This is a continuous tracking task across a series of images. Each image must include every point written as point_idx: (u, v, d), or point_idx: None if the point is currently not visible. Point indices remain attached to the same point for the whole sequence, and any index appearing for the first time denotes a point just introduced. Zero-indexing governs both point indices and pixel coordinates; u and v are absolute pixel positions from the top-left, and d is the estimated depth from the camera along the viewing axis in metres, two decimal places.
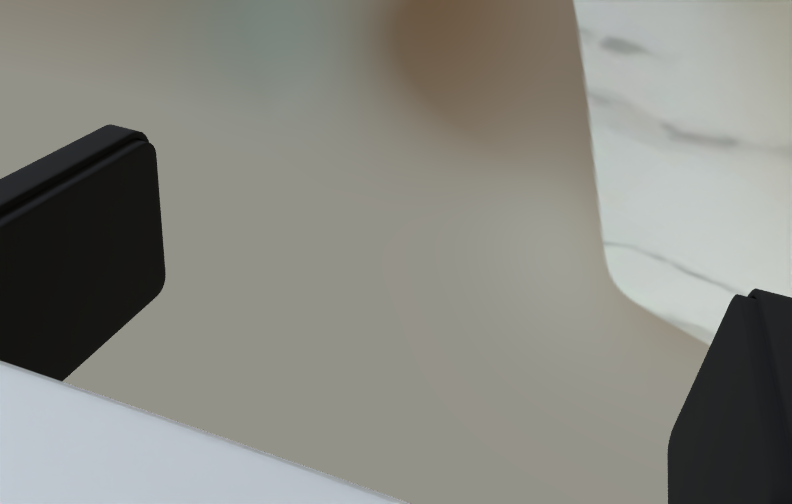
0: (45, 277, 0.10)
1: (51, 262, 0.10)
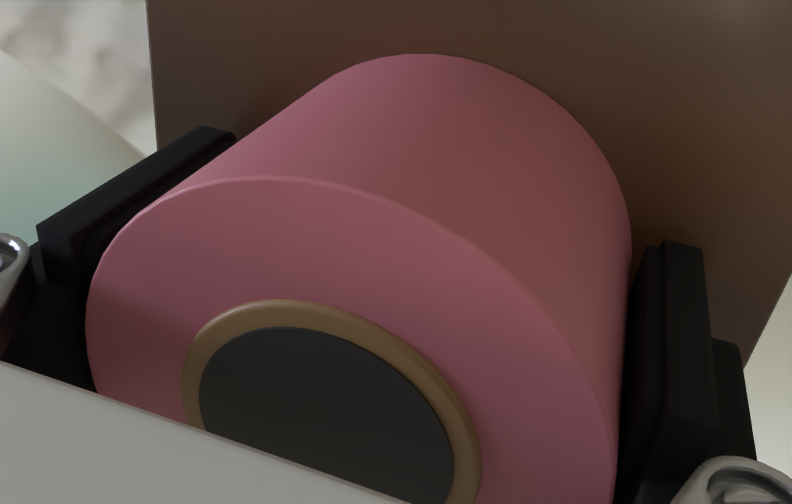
0: None
1: None
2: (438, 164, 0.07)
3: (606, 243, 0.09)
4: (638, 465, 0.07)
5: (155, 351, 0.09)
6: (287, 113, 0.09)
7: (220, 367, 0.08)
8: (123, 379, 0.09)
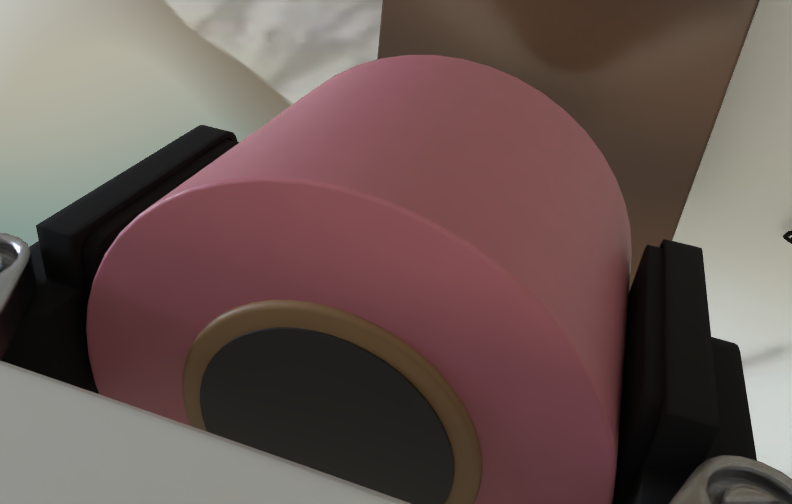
0: None
1: None
2: (439, 165, 0.07)
3: (606, 244, 0.09)
4: (638, 465, 0.07)
5: (156, 353, 0.09)
6: (288, 114, 0.09)
7: (220, 369, 0.08)
8: (124, 379, 0.09)
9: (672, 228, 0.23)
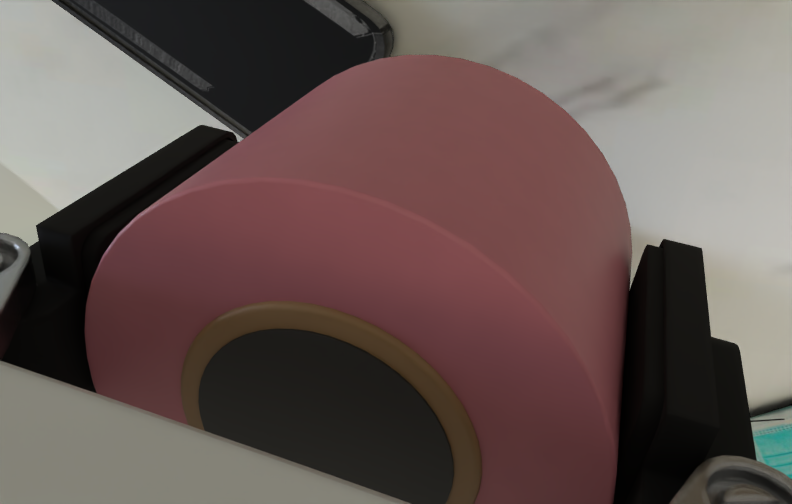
0: None
1: None
2: (439, 165, 0.07)
3: (606, 245, 0.09)
4: (638, 465, 0.07)
5: (154, 354, 0.08)
6: (287, 115, 0.09)
7: (220, 370, 0.08)
8: (123, 381, 0.09)
9: None
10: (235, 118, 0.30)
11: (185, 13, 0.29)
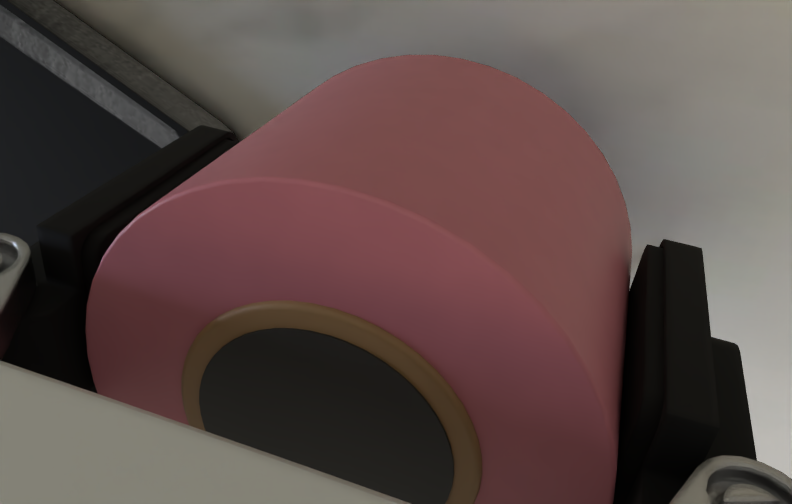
0: None
1: None
2: (438, 165, 0.07)
3: (606, 244, 0.09)
4: (638, 465, 0.07)
5: (155, 353, 0.09)
6: (287, 114, 0.09)
7: (220, 369, 0.08)
8: (123, 380, 0.09)
9: None
10: None
11: None
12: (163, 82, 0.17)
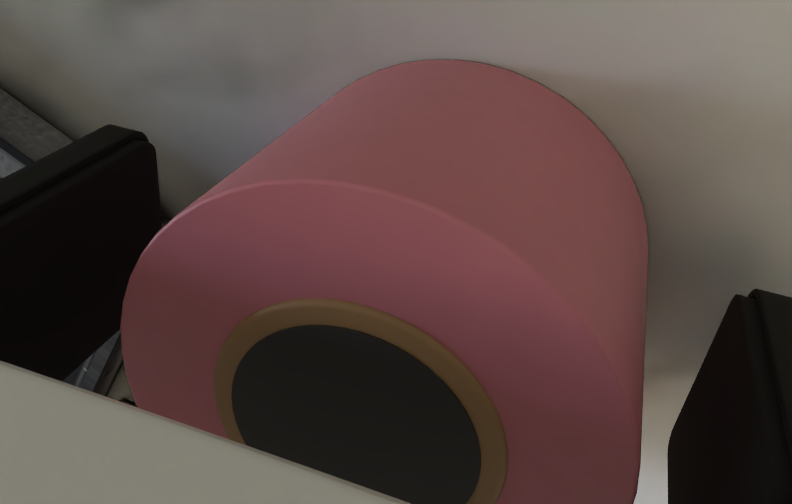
0: (45, 277, 0.10)
1: (51, 262, 0.10)
2: (469, 167, 0.08)
3: (627, 245, 0.09)
4: None
5: (189, 348, 0.09)
6: (316, 117, 0.09)
7: (253, 364, 0.08)
8: (156, 375, 0.09)
9: None
10: None
11: None
12: (70, 142, 0.14)
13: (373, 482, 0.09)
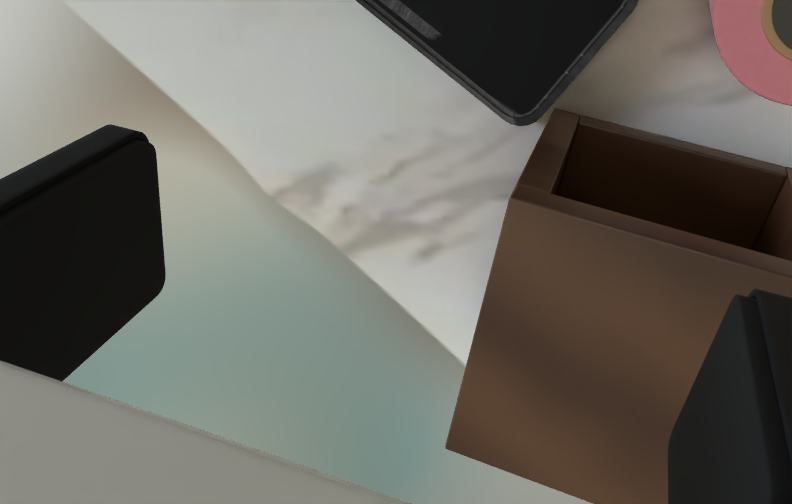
0: (45, 277, 0.10)
1: (51, 262, 0.10)
2: None
3: None
4: None
5: None
6: None
7: None
8: None
9: None
10: (458, 67, 0.31)
11: None
12: None
13: None
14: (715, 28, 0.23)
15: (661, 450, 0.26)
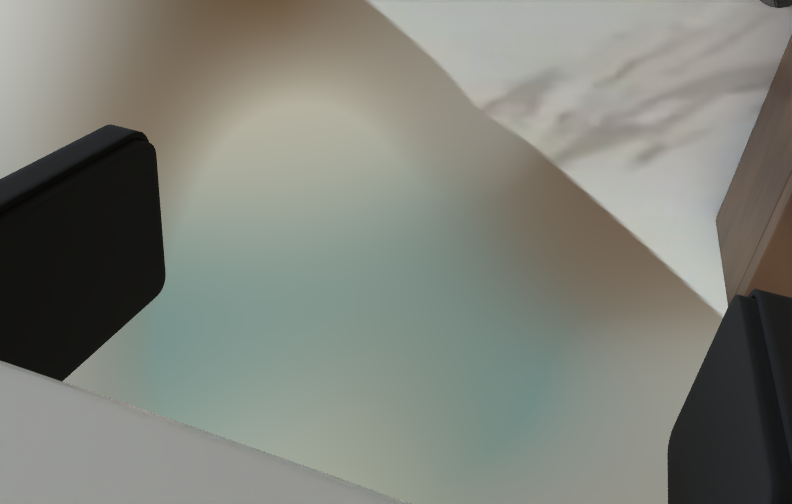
0: (45, 277, 0.10)
1: (51, 262, 0.10)
2: None
3: None
4: None
5: None
6: None
7: None
8: None
9: None
10: None
11: None
12: None
13: None
14: None
15: None
